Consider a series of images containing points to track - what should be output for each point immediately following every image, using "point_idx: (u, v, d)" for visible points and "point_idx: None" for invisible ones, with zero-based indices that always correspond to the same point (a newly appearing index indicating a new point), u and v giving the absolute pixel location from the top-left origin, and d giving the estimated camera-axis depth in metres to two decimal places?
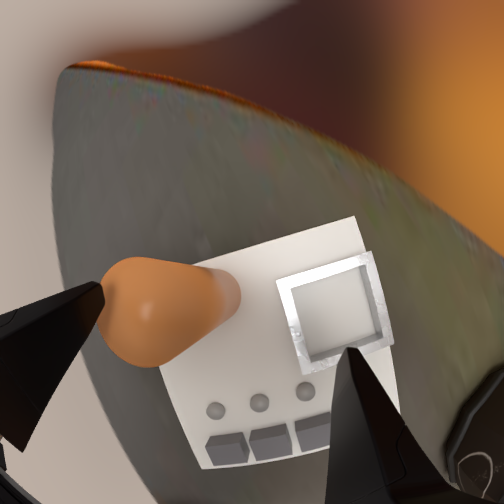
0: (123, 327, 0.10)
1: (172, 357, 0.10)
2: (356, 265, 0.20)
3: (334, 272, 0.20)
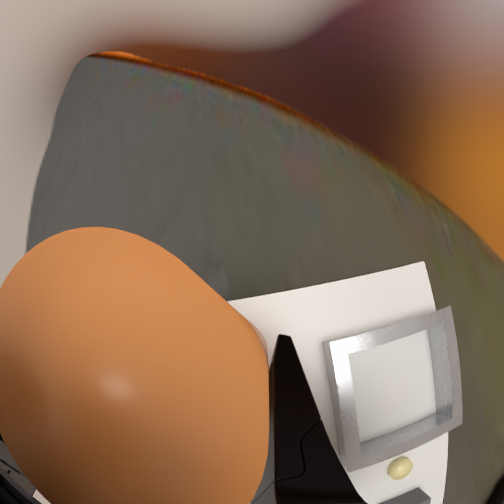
0: (37, 428, 0.02)
1: None
2: (433, 324, 0.13)
3: (408, 333, 0.13)
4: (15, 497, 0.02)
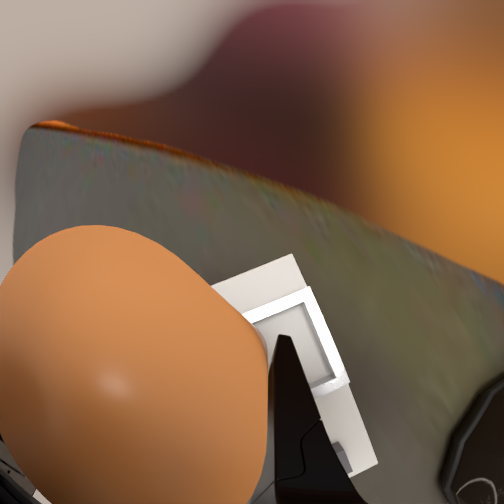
0: (36, 426, 0.02)
1: None
2: (294, 303, 0.19)
3: (270, 313, 0.19)
4: (15, 497, 0.02)
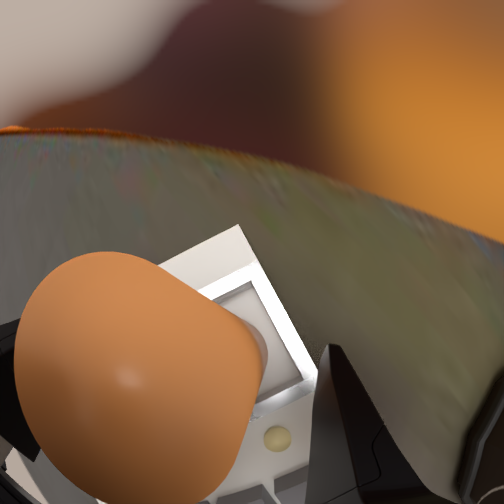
0: (62, 413, 0.03)
1: None
2: (238, 284, 0.15)
3: None
4: None
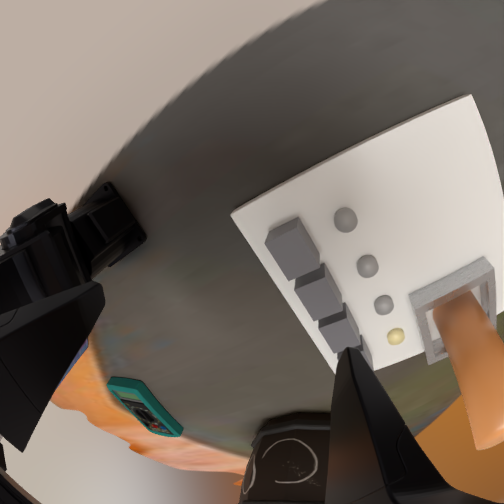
0: None
1: (476, 448, 0.09)
2: None
3: (490, 310, 0.17)
4: None
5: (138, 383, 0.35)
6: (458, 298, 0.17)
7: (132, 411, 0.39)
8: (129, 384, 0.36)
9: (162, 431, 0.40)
